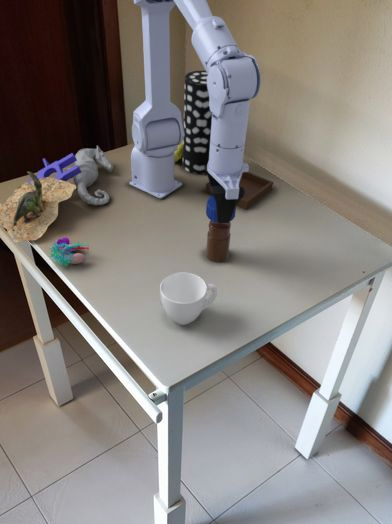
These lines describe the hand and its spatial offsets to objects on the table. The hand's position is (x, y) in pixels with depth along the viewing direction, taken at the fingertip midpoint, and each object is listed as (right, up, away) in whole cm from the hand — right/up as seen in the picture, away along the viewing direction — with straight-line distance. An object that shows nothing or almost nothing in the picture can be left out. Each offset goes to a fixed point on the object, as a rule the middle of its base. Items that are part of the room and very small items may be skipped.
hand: (220, 213), depth 91 cm
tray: (+5, +12, +24) cm, 27 cm away
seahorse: (-25, +6, +16) cm, 30 cm away
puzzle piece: (-35, +12, +18) cm, 41 cm away
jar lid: (0, +1, -1) cm, 2 cm away
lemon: (-10, +25, +30) cm, 41 cm away
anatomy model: (-25, -6, +3) cm, 26 cm away
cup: (-6, -19, -4) cm, 21 cm away
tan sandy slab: (-40, +8, +7) cm, 41 cm away
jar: (0, -6, +7) cm, 10 cm away
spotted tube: (-4, +20, +30) cm, 36 cm away
